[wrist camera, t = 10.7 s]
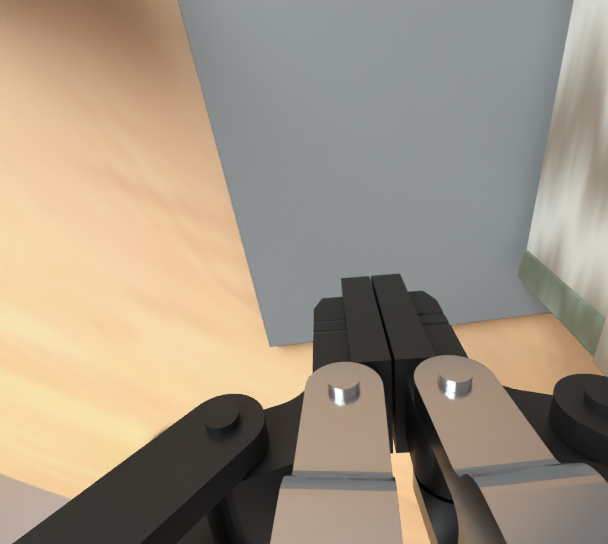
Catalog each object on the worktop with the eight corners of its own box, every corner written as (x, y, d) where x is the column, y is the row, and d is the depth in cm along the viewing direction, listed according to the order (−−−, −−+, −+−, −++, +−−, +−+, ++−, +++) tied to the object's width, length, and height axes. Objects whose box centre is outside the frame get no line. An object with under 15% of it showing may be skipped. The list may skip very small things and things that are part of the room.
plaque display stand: (612, 297, 25) (803, 448, 15) (271, 339, 27) (240, 493, 17) (694, -212, 15) (1366, -728, 5) (163, -76, 18) (-39, -258, 8)
